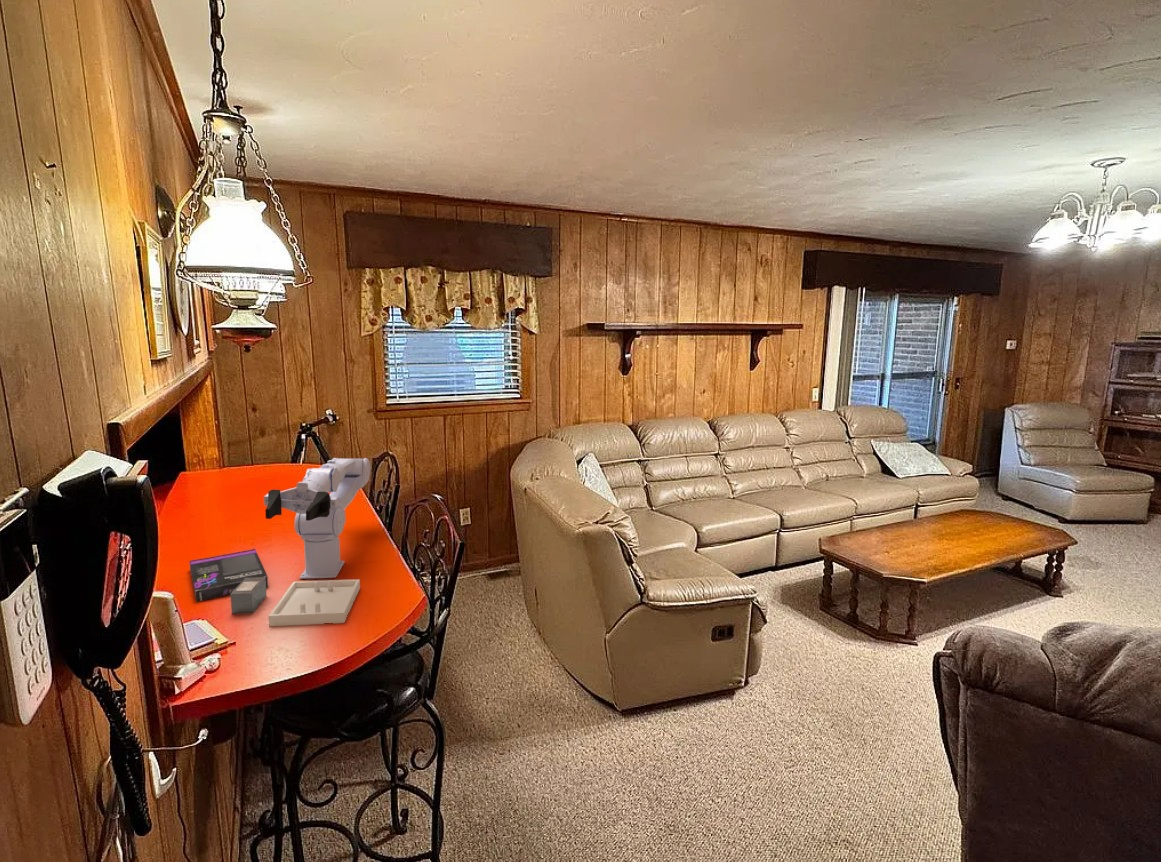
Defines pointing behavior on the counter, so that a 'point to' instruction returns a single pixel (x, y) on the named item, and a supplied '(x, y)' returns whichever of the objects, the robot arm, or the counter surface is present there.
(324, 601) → the tray
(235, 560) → the box
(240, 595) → the block
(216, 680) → the counter surface
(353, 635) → the counter surface
